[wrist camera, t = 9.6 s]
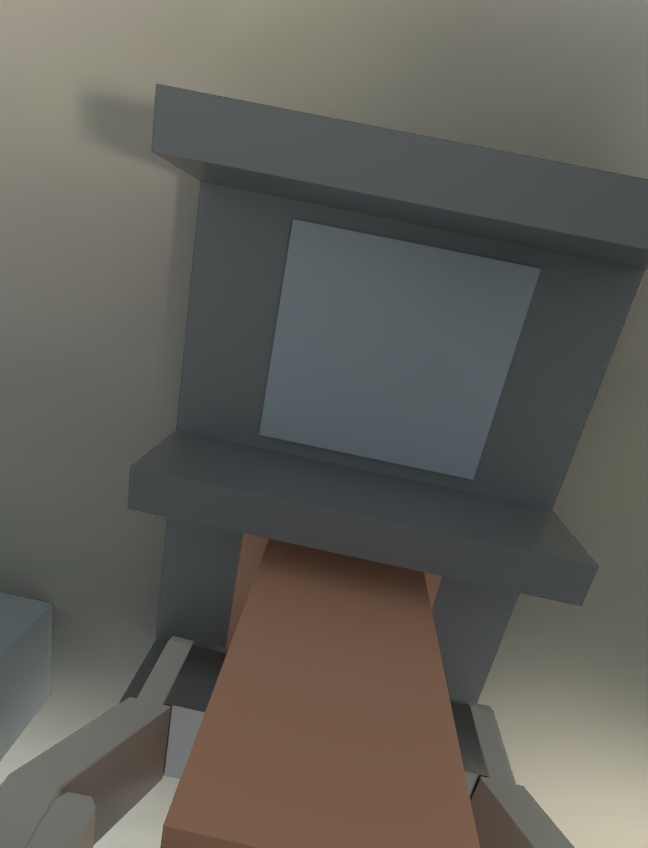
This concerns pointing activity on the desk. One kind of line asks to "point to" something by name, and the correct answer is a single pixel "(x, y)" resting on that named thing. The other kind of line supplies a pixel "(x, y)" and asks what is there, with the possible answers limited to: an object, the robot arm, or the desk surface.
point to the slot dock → (382, 364)
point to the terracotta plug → (327, 718)
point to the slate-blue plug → (23, 663)
